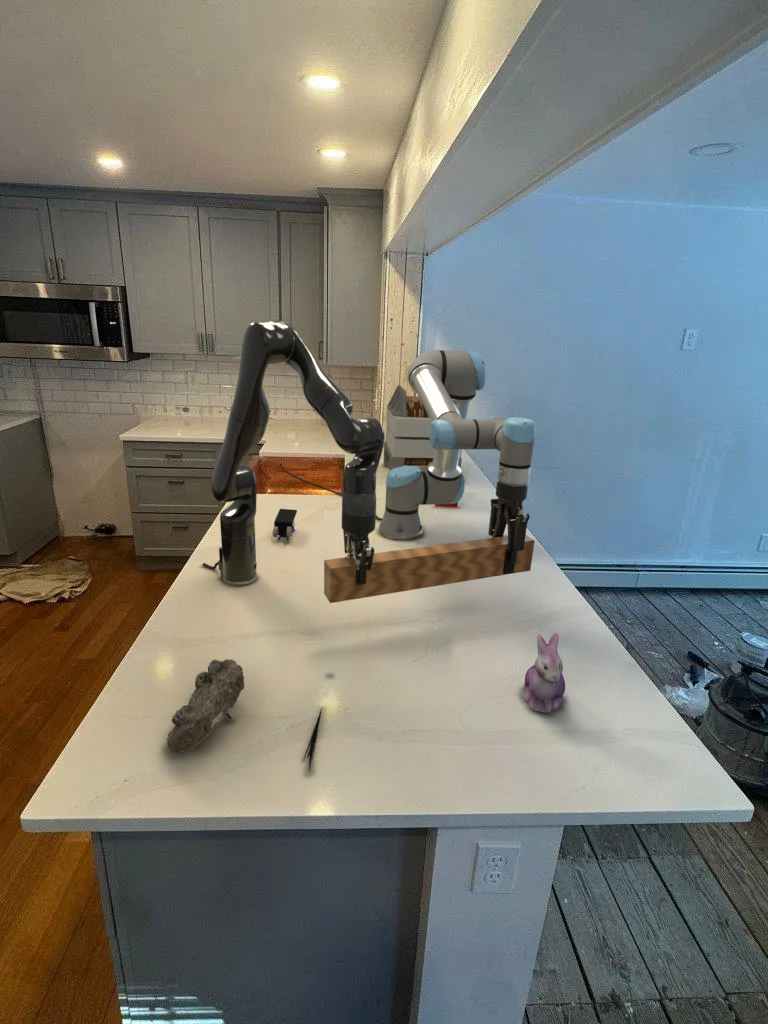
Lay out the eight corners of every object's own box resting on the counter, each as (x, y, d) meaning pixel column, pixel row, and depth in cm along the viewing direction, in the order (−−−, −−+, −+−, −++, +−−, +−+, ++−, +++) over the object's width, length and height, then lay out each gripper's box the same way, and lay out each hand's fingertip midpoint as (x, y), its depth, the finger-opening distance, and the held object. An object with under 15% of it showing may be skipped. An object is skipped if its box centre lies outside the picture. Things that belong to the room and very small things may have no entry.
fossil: (192, 660, 117) (244, 628, 112) (224, 691, 120) (276, 661, 115) (142, 746, 98) (202, 712, 93) (182, 779, 101) (242, 748, 96)
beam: (519, 563, 152) (523, 533, 149) (530, 570, 148) (534, 540, 145) (323, 593, 131) (324, 559, 128) (330, 603, 127) (330, 568, 124)
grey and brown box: (382, 463, 289) (386, 382, 275) (445, 464, 293) (451, 384, 279) (390, 482, 257) (394, 392, 243) (460, 483, 261) (468, 394, 247)
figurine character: (292, 547, 188) (298, 526, 201) (292, 527, 184) (297, 507, 198) (272, 547, 187) (279, 526, 201) (271, 526, 184) (278, 506, 197)
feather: (331, 679, 122) (336, 673, 122) (307, 777, 96) (313, 769, 95) (324, 675, 122) (329, 669, 121) (298, 772, 95) (304, 764, 95)
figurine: (543, 721, 111) (554, 655, 106) (509, 690, 119) (518, 628, 114) (578, 708, 115) (591, 644, 110) (543, 679, 123) (553, 619, 118)
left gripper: (332, 500, 129) (331, 568, 135) (354, 521, 117) (352, 595, 123) (363, 497, 132) (361, 564, 138) (387, 518, 120) (384, 590, 126)
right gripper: (480, 473, 145) (471, 556, 153) (521, 494, 130) (509, 585, 137) (504, 471, 148) (495, 553, 156) (548, 491, 132) (535, 581, 140)
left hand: (357, 578), depth 130 cm, fingers closed on beam, 4 cm apart
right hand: (502, 568), depth 147 cm, fingers closed on beam, 5 cm apart
